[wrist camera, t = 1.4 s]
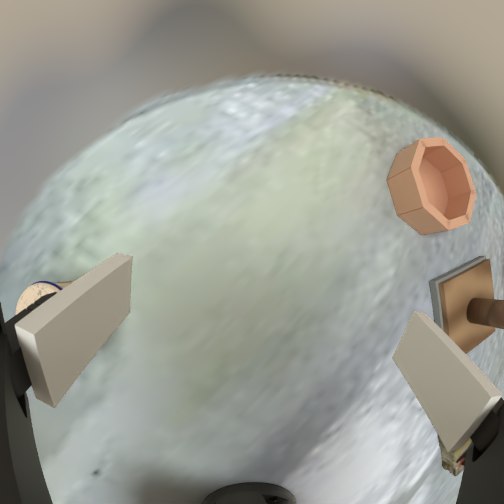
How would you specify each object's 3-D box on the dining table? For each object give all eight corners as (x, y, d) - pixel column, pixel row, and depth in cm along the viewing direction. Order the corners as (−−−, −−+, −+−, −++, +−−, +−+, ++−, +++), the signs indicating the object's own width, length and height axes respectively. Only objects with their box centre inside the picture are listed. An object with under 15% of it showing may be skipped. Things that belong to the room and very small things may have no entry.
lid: (490, 329, 35) (536, 338, 24) (445, 362, 34) (495, 381, 23) (484, 259, 36) (534, 256, 24) (438, 283, 34) (495, 286, 23)
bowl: (456, 223, 37) (482, 217, 31) (403, 241, 35) (430, 236, 29) (434, 149, 37) (456, 137, 31) (378, 155, 36) (400, 140, 30)
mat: (486, 330, 37) (492, 331, 35) (437, 364, 35) (443, 367, 34) (479, 256, 37) (485, 255, 36) (428, 281, 36) (435, 281, 34)
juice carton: (473, 440, 36) (489, 450, 30) (441, 469, 35) (456, 481, 29) (467, 380, 36) (489, 388, 30) (430, 414, 35) (451, 427, 29)
